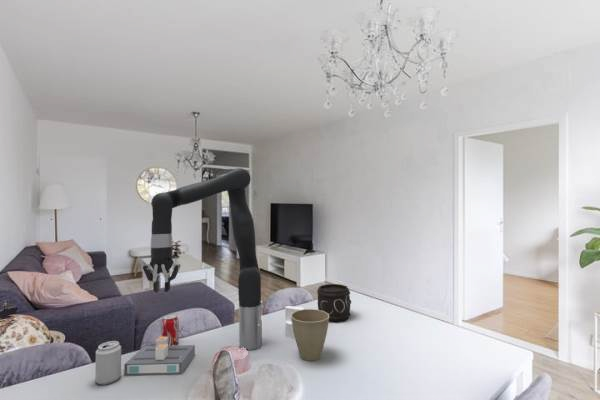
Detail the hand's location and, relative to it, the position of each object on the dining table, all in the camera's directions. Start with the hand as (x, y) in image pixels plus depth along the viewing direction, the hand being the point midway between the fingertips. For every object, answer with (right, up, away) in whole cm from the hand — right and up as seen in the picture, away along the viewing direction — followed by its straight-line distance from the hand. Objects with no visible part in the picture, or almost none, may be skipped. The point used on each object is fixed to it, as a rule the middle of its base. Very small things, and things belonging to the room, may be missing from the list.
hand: (161, 291), depth 115 cm
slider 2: (+2, -23, -4) cm, 23 cm away
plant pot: (+56, -27, +4) cm, 62 cm away
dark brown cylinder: (+71, -28, +47) cm, 89 cm away
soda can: (-4, -28, +16) cm, 33 cm away
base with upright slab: (+50, -28, +25) cm, 62 cm away
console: (0, -27, -1) cm, 27 cm away
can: (-13, -27, -11) cm, 32 cm away
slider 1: (-1, -23, +3) cm, 23 cm away
